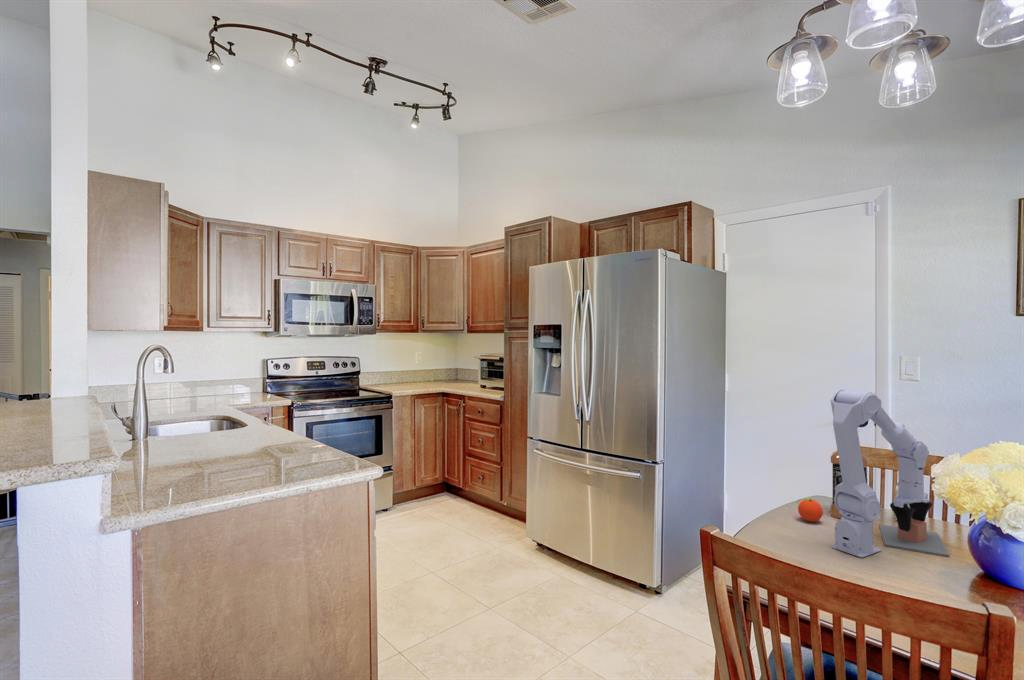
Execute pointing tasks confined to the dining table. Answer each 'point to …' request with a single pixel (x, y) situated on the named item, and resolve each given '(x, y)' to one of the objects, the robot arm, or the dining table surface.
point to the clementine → (810, 510)
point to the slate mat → (928, 546)
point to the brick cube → (914, 532)
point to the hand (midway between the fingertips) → (911, 527)
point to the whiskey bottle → (838, 478)
